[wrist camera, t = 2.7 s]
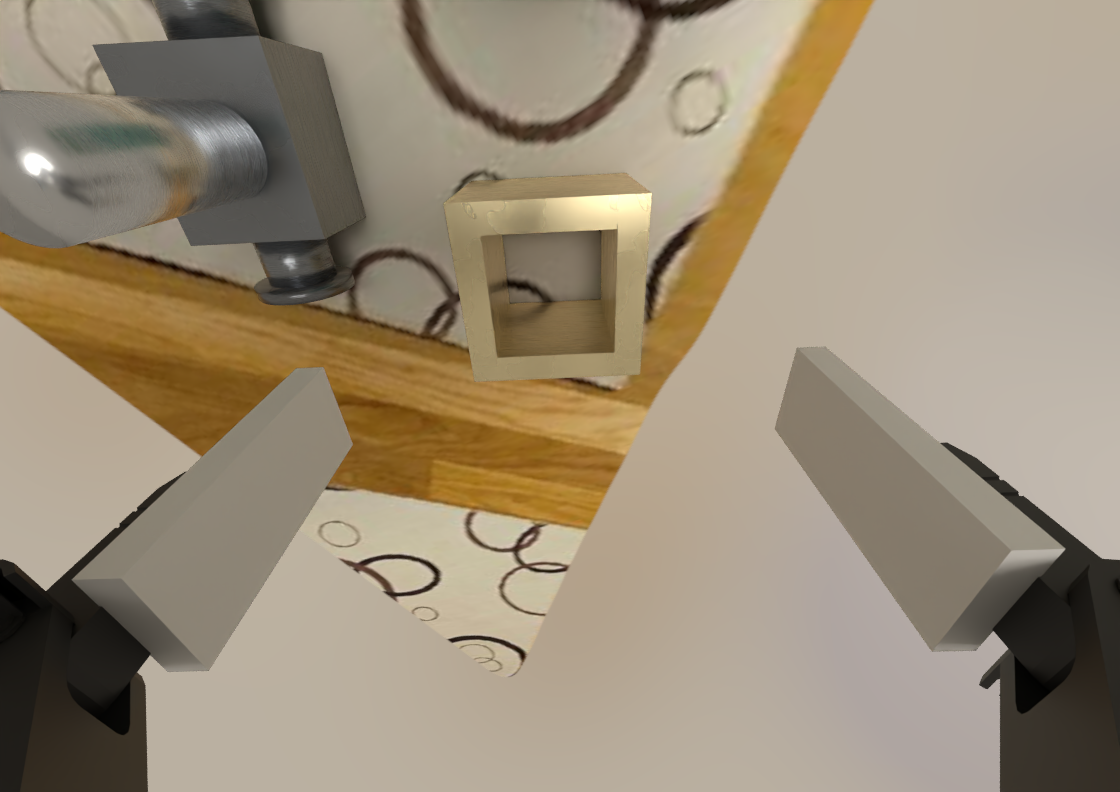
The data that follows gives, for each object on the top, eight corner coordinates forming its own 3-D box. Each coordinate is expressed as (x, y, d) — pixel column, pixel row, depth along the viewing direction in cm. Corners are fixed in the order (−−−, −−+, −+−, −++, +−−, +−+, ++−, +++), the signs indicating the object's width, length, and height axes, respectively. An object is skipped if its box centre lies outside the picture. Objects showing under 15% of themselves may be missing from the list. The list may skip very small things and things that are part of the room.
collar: (471, 180, 23) (443, 203, 17) (625, 173, 22) (651, 193, 17) (491, 323, 27) (474, 381, 21) (620, 317, 27) (639, 374, 21)
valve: (154, -31, 18) (-456, -255, 7) (296, -39, 18) (-101, -279, 7) (277, 277, 25) (66, 400, 14) (380, 272, 25) (247, 392, 14)
